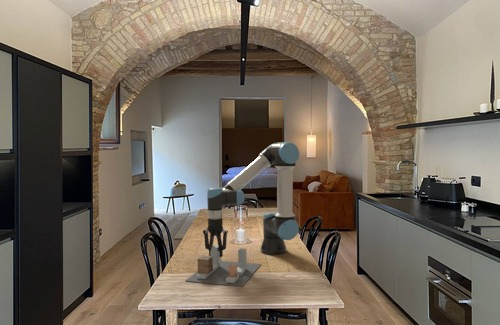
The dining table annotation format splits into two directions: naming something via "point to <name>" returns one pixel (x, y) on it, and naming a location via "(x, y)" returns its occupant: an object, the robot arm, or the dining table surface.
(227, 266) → the mat
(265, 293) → the dining table surface
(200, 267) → the block
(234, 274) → the peach egg shape
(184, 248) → the dining table surface
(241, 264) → the broken strip
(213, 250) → the grey stepped bracket
